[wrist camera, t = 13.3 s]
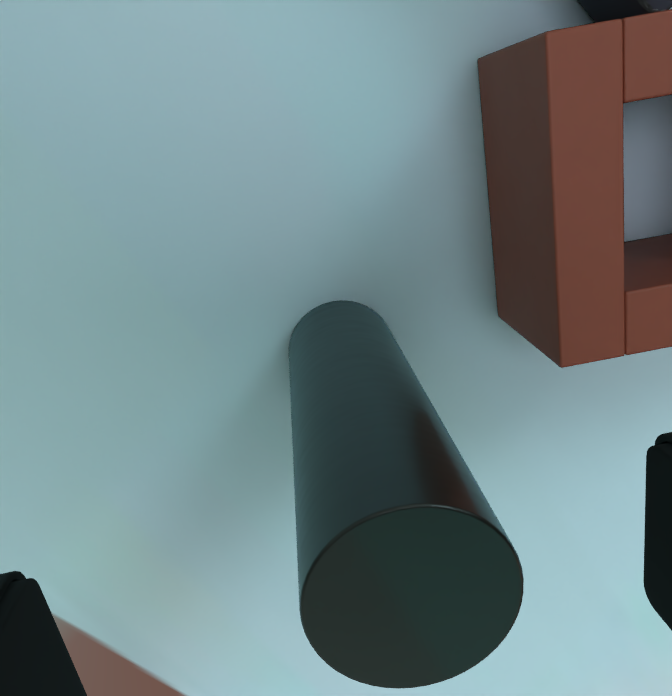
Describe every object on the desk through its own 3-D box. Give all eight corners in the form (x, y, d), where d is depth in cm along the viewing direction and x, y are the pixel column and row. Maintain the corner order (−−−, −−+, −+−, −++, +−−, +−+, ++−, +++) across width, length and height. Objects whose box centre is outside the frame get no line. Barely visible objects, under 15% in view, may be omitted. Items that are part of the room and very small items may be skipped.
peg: (299, 407, 21) (321, 708, 10) (279, 310, 20) (279, 530, 9) (398, 388, 22) (531, 666, 10) (385, 291, 20) (517, 484, 9)
